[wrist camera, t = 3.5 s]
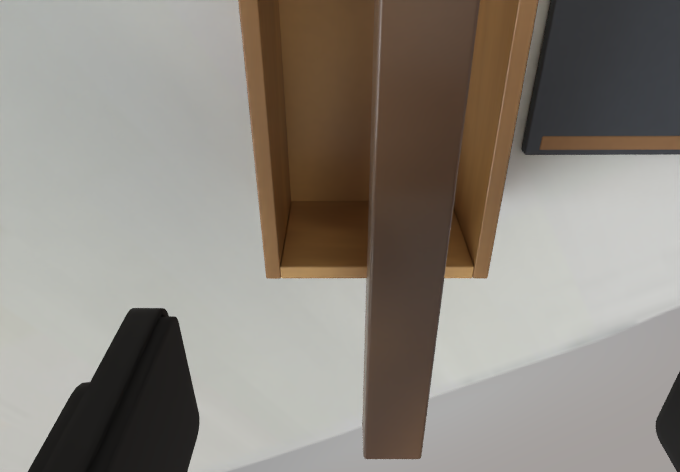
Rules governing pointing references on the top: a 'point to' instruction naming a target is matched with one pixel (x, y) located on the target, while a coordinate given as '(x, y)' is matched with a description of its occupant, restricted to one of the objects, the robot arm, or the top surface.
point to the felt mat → (607, 79)
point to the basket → (385, 165)
